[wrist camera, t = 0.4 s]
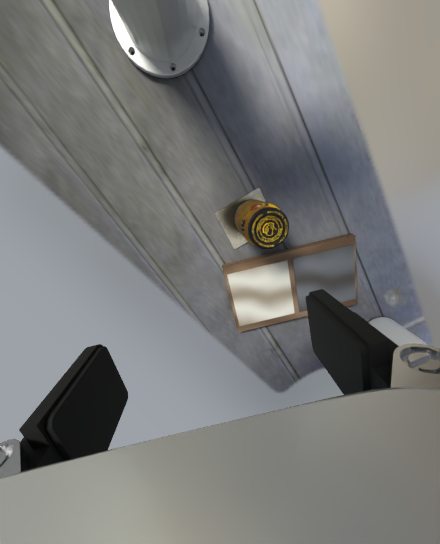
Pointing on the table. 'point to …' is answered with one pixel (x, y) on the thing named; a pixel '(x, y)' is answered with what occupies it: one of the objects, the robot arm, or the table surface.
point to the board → (291, 281)
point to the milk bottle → (395, 331)
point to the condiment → (254, 222)
